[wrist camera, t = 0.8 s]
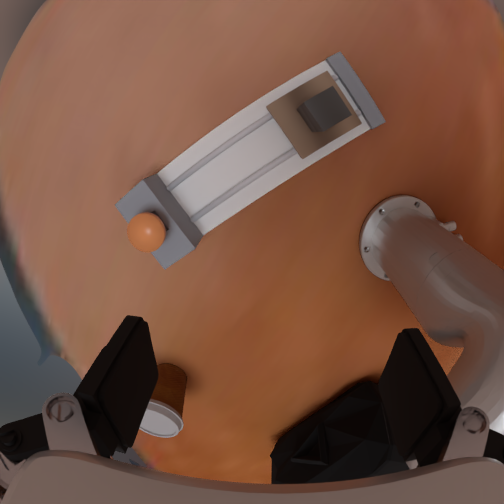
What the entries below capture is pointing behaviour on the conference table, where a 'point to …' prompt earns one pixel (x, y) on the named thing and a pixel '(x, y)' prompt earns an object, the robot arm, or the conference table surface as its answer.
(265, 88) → the conference table surface
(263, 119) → the rail track
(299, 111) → the carriage
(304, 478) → the black hard case
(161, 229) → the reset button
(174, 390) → the disposable coffee cup
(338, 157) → the conference table surface
